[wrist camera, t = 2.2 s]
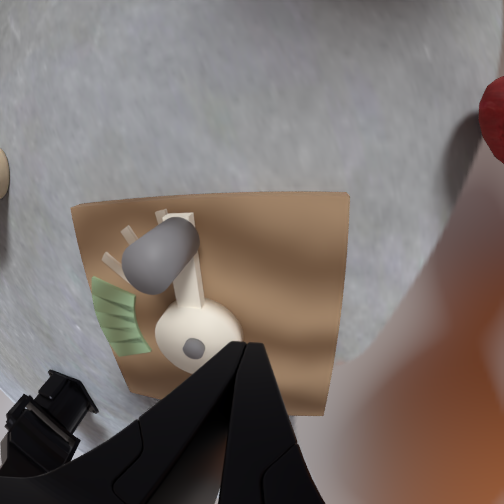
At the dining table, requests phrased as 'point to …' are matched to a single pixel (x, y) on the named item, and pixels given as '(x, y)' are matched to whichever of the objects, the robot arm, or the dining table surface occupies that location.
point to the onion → (493, 117)
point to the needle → (180, 293)
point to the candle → (3, 174)
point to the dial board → (229, 282)
